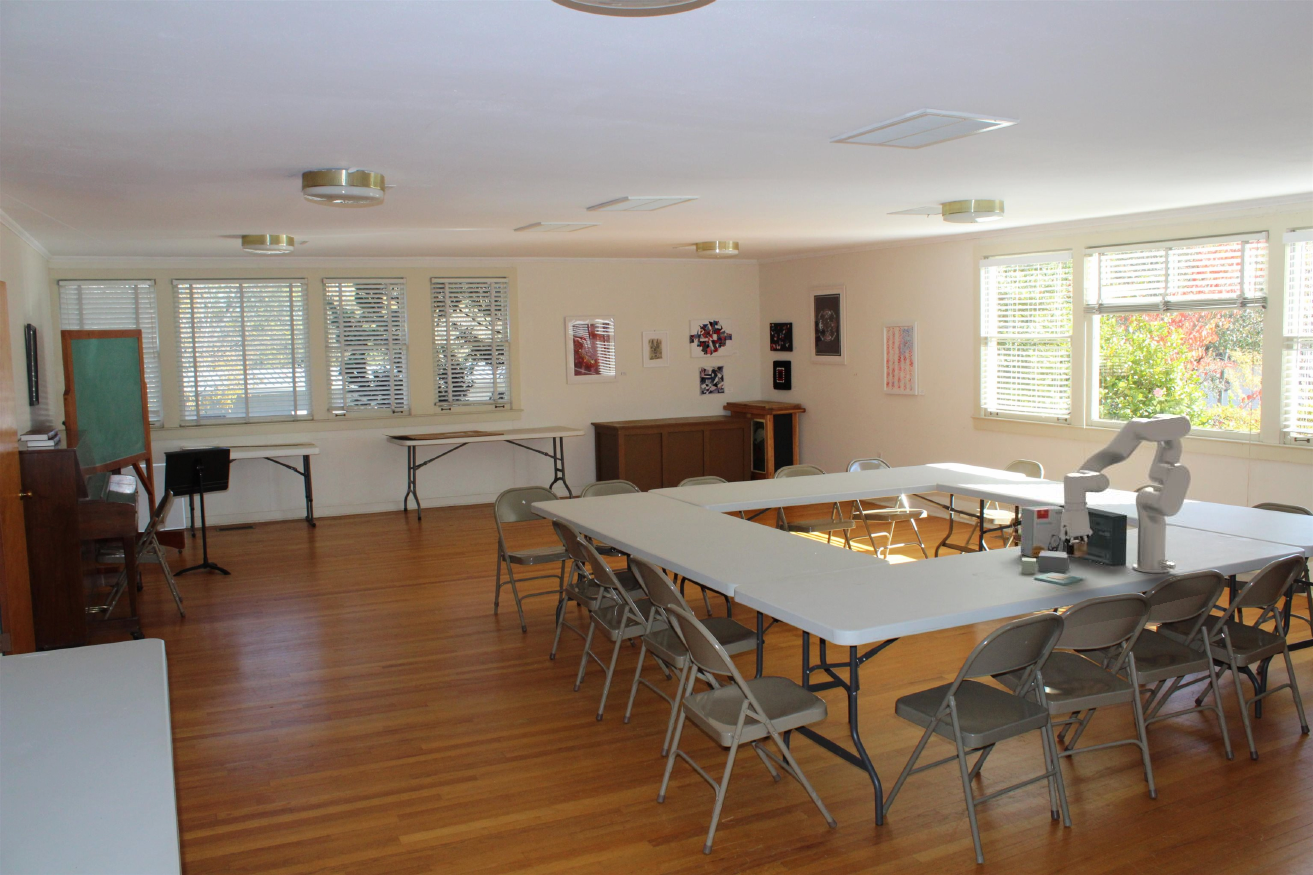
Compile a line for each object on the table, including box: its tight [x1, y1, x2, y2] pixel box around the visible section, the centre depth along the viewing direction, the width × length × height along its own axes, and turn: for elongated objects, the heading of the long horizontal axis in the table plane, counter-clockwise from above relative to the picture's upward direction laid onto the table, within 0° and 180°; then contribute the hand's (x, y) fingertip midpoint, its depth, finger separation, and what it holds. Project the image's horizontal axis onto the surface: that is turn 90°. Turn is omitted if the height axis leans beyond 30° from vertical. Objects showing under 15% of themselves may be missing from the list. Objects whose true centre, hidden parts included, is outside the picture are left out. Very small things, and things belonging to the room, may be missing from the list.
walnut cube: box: [1066, 540, 1087, 558], centre depth 351 cm, size 5×5×5 cm
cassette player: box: [1058, 504, 1128, 567], centre depth 376 cm, size 29×7×20 cm, turn 17°
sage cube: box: [1021, 557, 1037, 575], centre depth 357 cm, size 5×5×5 cm
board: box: [1033, 571, 1083, 586], centre depth 344 cm, size 12×12×1 cm
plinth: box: [1038, 551, 1070, 573], centre depth 361 cm, size 10×10×6 cm
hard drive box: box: [1020, 505, 1064, 558], centre depth 385 cm, size 16×8×20 cm, turn 105°
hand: (1076, 552), depth 351 cm, fingers closed on walnut cube, 5 cm apart
